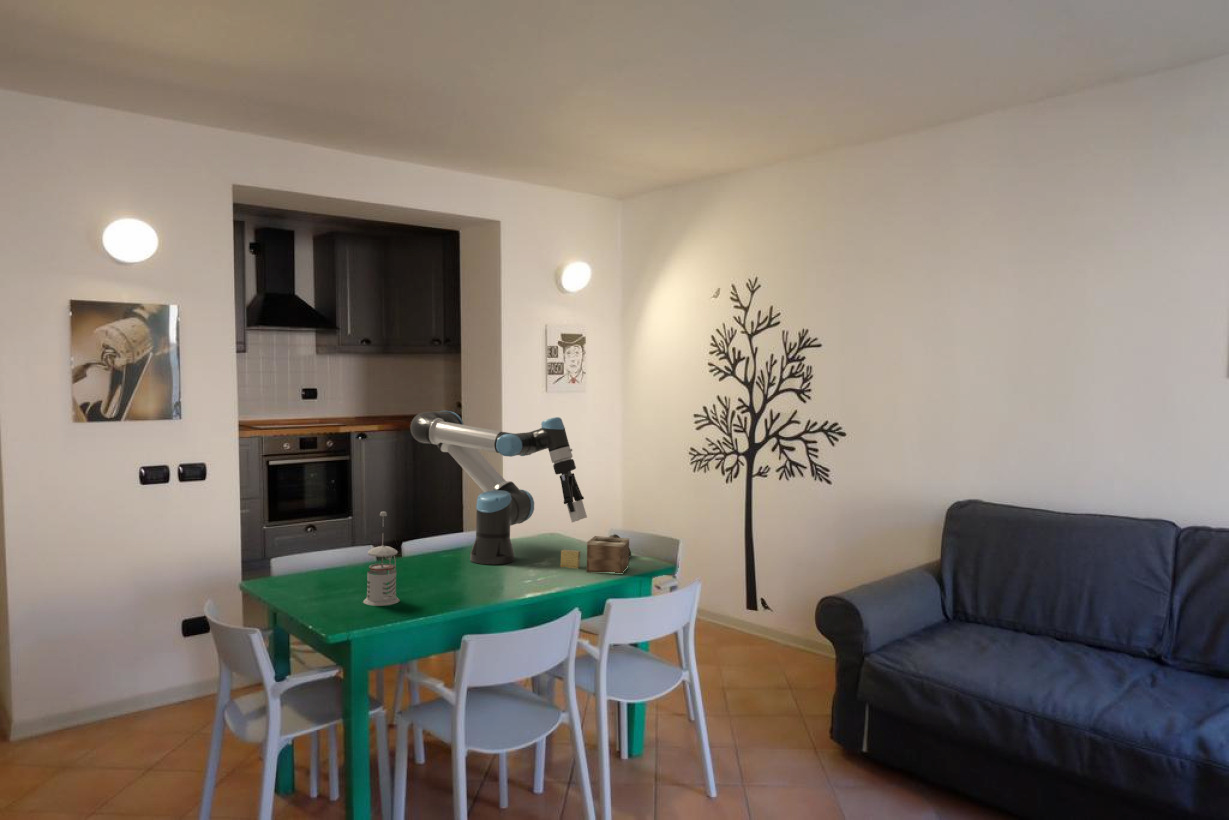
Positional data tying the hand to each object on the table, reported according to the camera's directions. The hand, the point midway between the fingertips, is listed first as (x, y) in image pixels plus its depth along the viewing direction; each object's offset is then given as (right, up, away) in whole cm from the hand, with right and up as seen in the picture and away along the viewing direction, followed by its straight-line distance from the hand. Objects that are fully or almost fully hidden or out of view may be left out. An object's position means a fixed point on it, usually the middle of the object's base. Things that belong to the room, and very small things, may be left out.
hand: (579, 520), depth 285 cm
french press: (-53, -15, -56) cm, 78 cm away
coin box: (+10, -15, -10) cm, 21 cm away
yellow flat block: (-3, -15, -8) cm, 17 cm away
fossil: (+13, -15, +9) cm, 22 cm away
